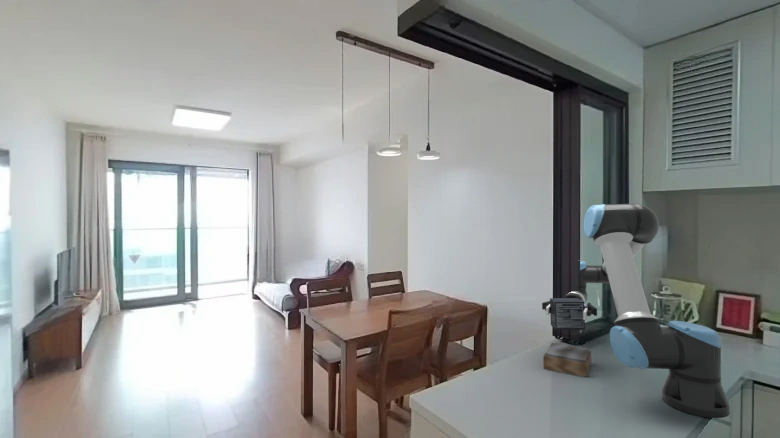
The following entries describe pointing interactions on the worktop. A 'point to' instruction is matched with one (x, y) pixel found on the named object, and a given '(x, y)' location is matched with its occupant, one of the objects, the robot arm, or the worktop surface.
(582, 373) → the base
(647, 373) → the worktop surface
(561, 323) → the small box
